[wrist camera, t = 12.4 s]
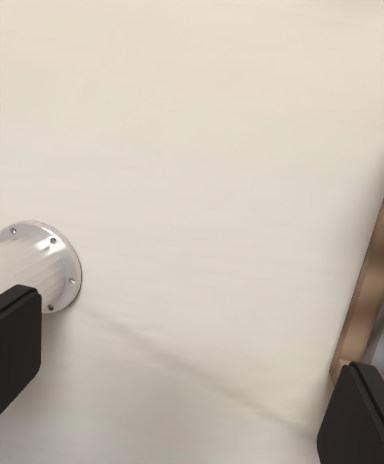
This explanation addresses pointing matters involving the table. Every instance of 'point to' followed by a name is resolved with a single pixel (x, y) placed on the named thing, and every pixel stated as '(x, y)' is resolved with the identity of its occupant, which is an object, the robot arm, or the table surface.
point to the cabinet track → (365, 311)
